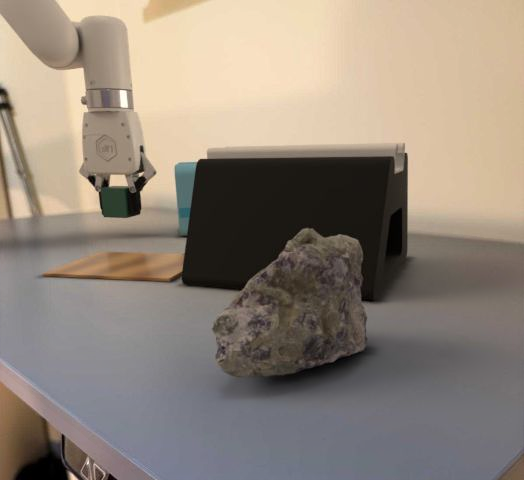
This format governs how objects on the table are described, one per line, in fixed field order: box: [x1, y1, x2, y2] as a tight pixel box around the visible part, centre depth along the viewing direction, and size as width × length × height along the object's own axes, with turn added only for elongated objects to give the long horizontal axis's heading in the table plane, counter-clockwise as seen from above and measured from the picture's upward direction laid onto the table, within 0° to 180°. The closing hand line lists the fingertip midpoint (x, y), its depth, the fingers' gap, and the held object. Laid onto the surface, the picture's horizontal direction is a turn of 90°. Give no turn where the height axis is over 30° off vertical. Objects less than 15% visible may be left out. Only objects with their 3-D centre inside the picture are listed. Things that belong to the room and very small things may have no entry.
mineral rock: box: [211, 228, 368, 378], centre depth 40 cm, size 13×11×10 cm
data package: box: [174, 161, 198, 237], centre depth 98 cm, size 12×4×12 cm, turn 4°
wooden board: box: [42, 251, 185, 282], centre depth 74 cm, size 18×14×1 cm
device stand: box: [181, 142, 409, 301], centre depth 66 cm, size 22×22×15 cm
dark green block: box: [101, 185, 134, 219], centre depth 96 cm, size 5×5×5 cm
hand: (121, 213), depth 97 cm, fingers closed on dark green block, 4 cm apart
